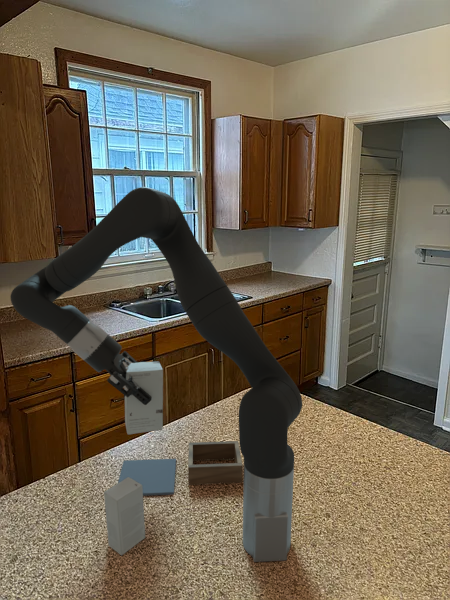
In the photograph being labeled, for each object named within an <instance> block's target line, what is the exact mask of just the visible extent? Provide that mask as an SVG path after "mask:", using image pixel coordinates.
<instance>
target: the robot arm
mask: <svg viewBox="0 0 450 600" xmlns="http://www.w3.org/2000/svg"><path fill="white" fill-rule="evenodd" d="M140 238H144V239H145V238H146V239H150V240H151V241H152V242H153V243H154V245H155V246H156V247H157V249H158V250H159V251H160V253H161V254H162V255H163V257H164V259H165V260H166V262H167V263H168V265H169V267H170V269H171V273H172V276H173V280H174V285H175V289H176V292H177V297H178V300H179V302H180V305H181V307H182V309H183V310H184V312H185V314H186V315H187V317H188V318H189V320H190V322H191V324H192V325H193V327H194V328H195V330H196V331H197V333H198V334H199V335H200V336H201V337H202V338H203V339H204V340H206V341H207V342H208V344H209V345H212V346H213V347H214V348H216V349H217V350H219V352H220V353H222V354H225V355H224V356H227V357H228V358H229V359H230V360H232V361H233V362H234V363H235V365H237V367H238V368H239V369H240V371H241V372H242V373H243V375H244V377H245V378H246V380H247V382H248V383H249V386H250V387H251V388H250V389H249V390H247V392H246V393H244V395H243V396H242V398H241V399H240V403H239V408H238V438H239V439H238V442H239V448H240V454H241V456H242V458H243V482H242V483H243V485H242V486H243V490H242V491H243V494H242V501H243V502H242V546H243V548H244V550H245V551H246V552H247V553H248V555H250V557H252V560H253V561H252V562H254V563H257V562H258V563H259V562H277V561H279V562H280V561H287V558H288V553H289V551H290V550H291V543H292V542H291V540H292V537H291V536H292V518H293V515H292V514H293V499H294V498H293V493H294V476H295V475H294V472H295V469H294V468H295V453H294V450H293V448H292V447H291V446H290V444H288V431H289V430H288V429H289V427H290V426H291V425H292V424H293V423H294V422H295V420H296V419H297V417H298V416H300V414H301V411H302V408H303V398H302V394H301V391H300V390H299V387H298V386H297V384H296V383H295V381H294V380H293V378H292V377H291V376H290V375H289V374H288V372H287V371H286V369H284V367H283V366H282V365H281V364H280V362H279V361H278V360H277V358H276V357H275V356H274V355H273V354H272V352H271V351H270V350H269V347H267V345H266V344H265V342H264V341H263V339H262V338H261V337H260V335H259V333H258V331H256V329H255V328H254V326H253V324H252V322H251V321H250V320H249V319H248V317H247V315H246V314H245V312H244V310H243V309H242V307H241V305H240V304H239V302H238V300H237V298H236V297H235V295H234V294H233V292H232V291H231V289H230V287H229V286H228V285H227V283H226V282H225V280H224V279H223V278H222V276H221V275H220V273H219V272H218V270H217V269H216V267H215V265H214V264H213V263H212V261H211V260H210V258H209V257H208V256H207V254H206V253H205V252H204V250H203V249H202V247H201V245H200V244H199V242H198V241H197V238H196V237H195V235H194V233H193V231H192V229H191V228H190V225H189V223H188V221H187V219H186V217H185V215H184V212H183V211H182V209H181V208H180V205H179V204H178V202H177V201H176V200H175V199H174V197H172V196H171V194H168V193H166V192H165V191H160V190H159V189H155V188H152V187H147V186H141V187H136V188H134V189H132V190H130V191H129V192H127V194H126V195H124V196H123V198H122V199H120V200H119V202H118V203H116V205H115V206H113V208H112V209H111V210H110V211H109V212H108V213H107V214H106V215H105V216H104V217H103V218H102V219H101V220H100V221H99V222H98V223H97V224H96V225H95V226H94V227H93V228H92V229H91V230H89V232H88V233H87V234H86V235H84V236H83V237H82V238H81V239H80V240H78V241H77V242H76V243H75V244H73V245H72V246H71V247H69V248H68V249H66V250H65V251H64V252H63V253H61V254H60V255H58V256H57V257H55V258H54V259H52V260H51V261H50V262H49V263H48V265H46V266H45V267H43V268H42V269H40V270H39V271H37V272H35V273H34V274H33V275H31V276H29V277H28V278H26V279H25V280H24V281H22V282H20V283H19V284H18V285H16V286H15V287H14V288H13V289H12V290H11V293H10V302H11V305H12V307H13V308H14V310H15V311H16V312H17V313H18V314H19V315H20V316H22V317H23V318H25V319H26V320H28V321H30V322H32V323H34V324H35V325H38V326H40V327H42V328H44V329H46V330H48V331H50V332H52V333H54V335H55V336H57V337H58V338H59V339H60V340H62V341H63V342H64V343H65V345H67V346H68V347H69V348H70V349H71V350H72V351H73V353H74V354H76V355H77V356H78V357H79V358H81V360H82V361H84V362H86V364H88V365H89V366H90V367H91V368H92V369H93V370H94V371H96V372H97V373H101V372H103V371H104V370H105V371H106V372H108V374H109V375H110V376H109V377H108V378H107V379H106V381H107V383H109V384H110V385H111V386H112V387H114V389H116V390H117V391H118V392H120V393H121V394H122V395H124V397H125V396H126V397H129V396H130V395H131V396H132V395H133V396H135V397H136V398H137V399H138V400H139V401H140V402H142V403H143V404H144V405H147V404H148V403H149V402H150V401H151V399H152V397H151V396H150V395H149V394H148V393H147V392H146V391H144V390H143V389H142V388H141V387H139V385H138V384H137V383H136V382H135V381H134V380H133V377H132V376H130V378H129V379H128V380H126V371H127V370H128V368H129V367H128V364H131V363H138V361H137V360H136V359H135V358H133V356H132V355H130V354H129V353H128V352H127V351H126V350H124V351H123V352H122V353H121V351H122V348H123V347H122V345H121V344H120V343H119V342H118V341H116V340H115V339H114V338H113V337H112V336H111V335H110V334H108V333H107V332H106V331H105V330H104V329H103V328H102V327H101V326H99V325H98V324H96V323H94V322H93V320H90V318H88V317H87V316H86V315H85V314H84V313H83V312H82V311H81V310H79V309H78V308H77V307H76V306H74V305H72V304H70V305H69V304H68V305H65V306H60V305H58V304H57V303H55V301H56V300H57V299H58V298H60V297H61V296H62V295H64V294H65V293H67V292H70V291H72V290H74V289H75V288H77V287H79V286H80V285H82V284H83V283H84V282H86V281H87V280H89V279H90V278H92V277H93V276H95V274H96V273H97V272H98V271H100V270H101V268H102V267H103V266H104V264H105V263H106V261H107V260H108V258H110V257H111V255H113V253H115V252H116V251H117V250H118V249H120V248H121V247H123V246H125V245H126V244H129V243H132V242H133V241H135V240H137V239H140ZM130 382H131V383H132V384H133V385H132V384H131V383H130ZM127 386H128V387H129V388H128V387H127ZM125 389H126V390H125Z"/></svg>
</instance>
